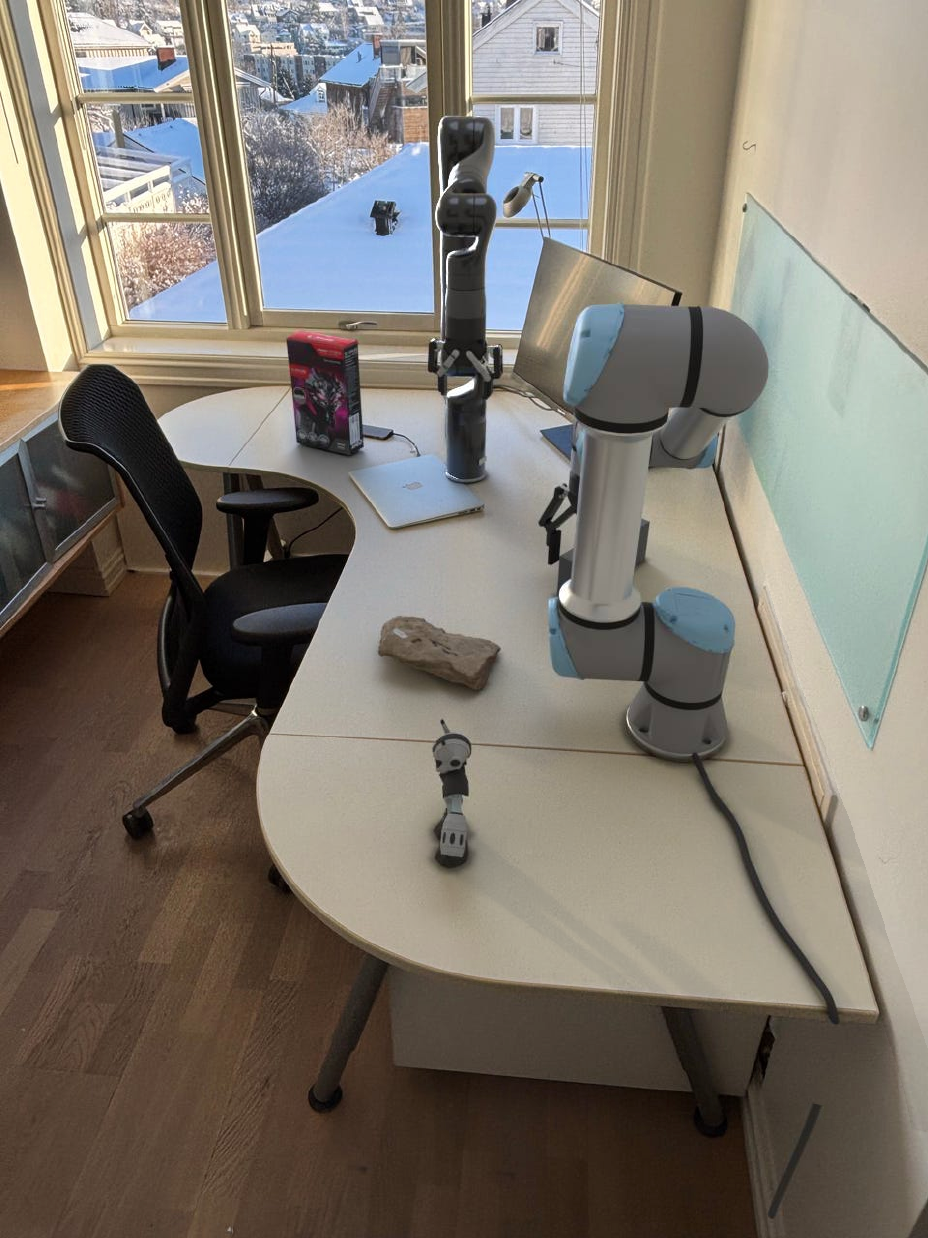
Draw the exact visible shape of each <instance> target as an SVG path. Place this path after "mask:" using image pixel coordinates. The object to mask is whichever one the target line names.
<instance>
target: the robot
mask: <svg viewBox="0 0 928 1238" xmlns="http://www.w3.org/2000/svg"><path fill="white" fill-rule="evenodd" d="M439 722H440V725H441V727H442V730H443V733H444V734H442V735H441V736H439V737H438V738H437V739H436V740H435V741H434V742H433V745H432V747H431V752H432V757H433V758H434V761H435V771H436V772H437V773H439V774H438V776H439V779H440V781H441V783H442V785H441V792H442V794H441V795H442V799H443V801H444V802H445V805H446V807H445V808H444V812H443V813H442V816H441V819H440V820H439V821H438V823H437V824H435V826H434V828H433V833H434V834H435V836H436V838H437V839H438V840H439V841H440V842H439V845H438V848H437V849H436V852H435V855H434V859H435V860H436V861H437V862H438V863H439V865H441V866H443V867H447V868H453V867H457V866H459V865H461V864H463V863H466V862H467V859H468V856H469V854H470V853H469V844H468V840H467V837H468V823H467V818H466V815H464V813H463V810H462V806H463V804H464V798H463V797H469V795H470V794H469V793H470V788H469V787H470V786H469V779H468V776H467V774H466V766H467V765H468V762H467V760H468V759H469V758H470V757H471V755H472V749H473V748H472V743H471V741H470V739H468V738H467V736H465V735H464V734H462V733H460V732H457V731H450V729H449V727H448V725H447V723H446V722H445V720H444V719H443V718H441V719H440V720H439Z"/></svg>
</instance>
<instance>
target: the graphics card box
mask: <svg viewBox="0 0 928 1238" xmlns="http://www.w3.org/2000/svg"><path fill="white" fill-rule="evenodd" d="M285 341H286V348H287V349H286V350H287V359H288V369H289V378H290V389H291V398H292V408H293V420H294V428H295V441H296V444H300V445H304V446H309V447H314V448H317V449H321V450H326V451H330V452H334V453H340V454H343V455H348V456H351V455H353V454H354V453H356V452H358V451H359V450H361V449H363V448H364V445H365V443H364V428H363V427H364V426H363V424H364V423H363V411H362V409H363V408H362V396H361V377H360V361H359V341H358V339H350V338H343V337H339V336H333V335H330V334H329V335H328V334H324V333H318V332H313V331H312V332H311V331H306V330H298V331H295V332H293V333H292V334H290V335H289V336H288V337H286V340H285Z"/></svg>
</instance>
